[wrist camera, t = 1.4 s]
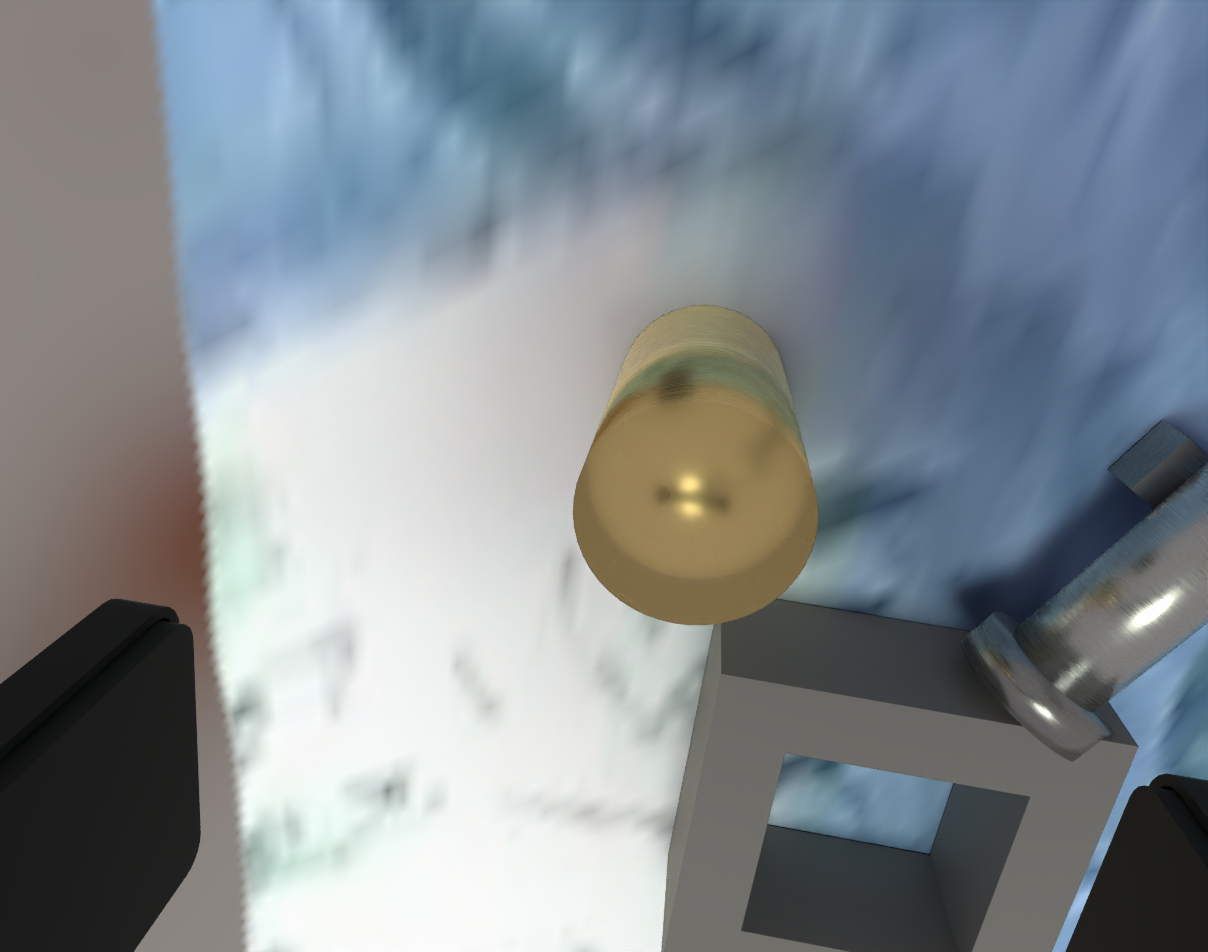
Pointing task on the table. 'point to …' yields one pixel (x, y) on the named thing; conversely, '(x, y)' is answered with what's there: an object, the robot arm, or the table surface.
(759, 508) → the yellow cylinder
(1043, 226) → the table surface
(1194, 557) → the shaft
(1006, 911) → the grey square frame
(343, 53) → the table surface
